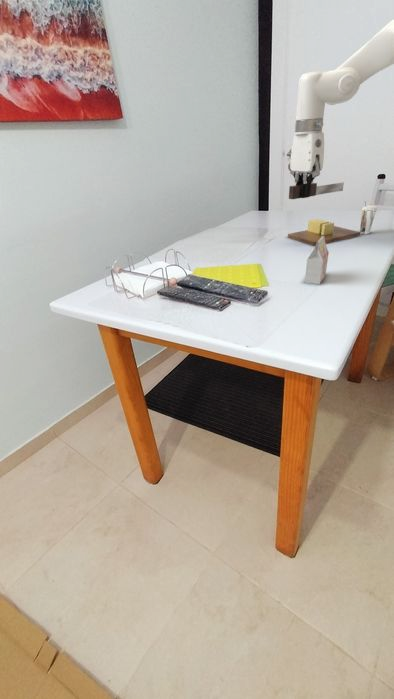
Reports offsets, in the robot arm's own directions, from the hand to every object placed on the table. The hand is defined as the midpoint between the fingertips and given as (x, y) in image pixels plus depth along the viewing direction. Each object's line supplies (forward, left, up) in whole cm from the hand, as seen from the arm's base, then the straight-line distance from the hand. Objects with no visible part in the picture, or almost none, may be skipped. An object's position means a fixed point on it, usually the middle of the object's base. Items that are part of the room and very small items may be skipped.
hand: (302, 196), depth 106 cm
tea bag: (+17, +28, -15) cm, 36 cm away
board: (-12, -2, -15) cm, 19 cm away
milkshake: (-26, +3, -15) cm, 30 cm away
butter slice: (-12, 0, -14) cm, 18 cm away
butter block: (-12, -5, -14) cm, 19 cm away
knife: (-6, 0, 0) cm, 6 cm away
